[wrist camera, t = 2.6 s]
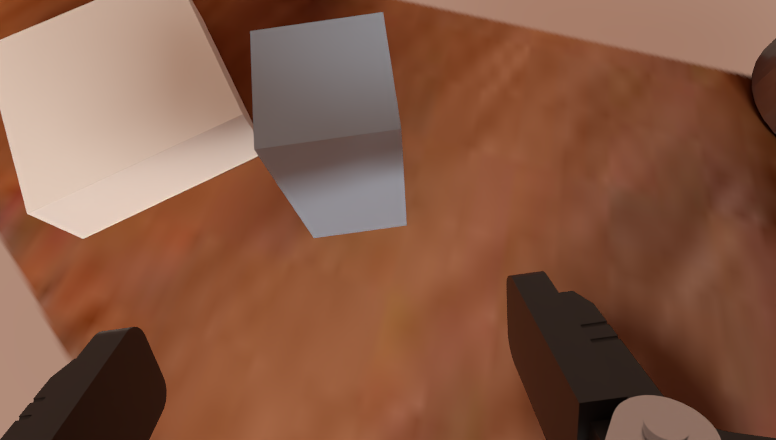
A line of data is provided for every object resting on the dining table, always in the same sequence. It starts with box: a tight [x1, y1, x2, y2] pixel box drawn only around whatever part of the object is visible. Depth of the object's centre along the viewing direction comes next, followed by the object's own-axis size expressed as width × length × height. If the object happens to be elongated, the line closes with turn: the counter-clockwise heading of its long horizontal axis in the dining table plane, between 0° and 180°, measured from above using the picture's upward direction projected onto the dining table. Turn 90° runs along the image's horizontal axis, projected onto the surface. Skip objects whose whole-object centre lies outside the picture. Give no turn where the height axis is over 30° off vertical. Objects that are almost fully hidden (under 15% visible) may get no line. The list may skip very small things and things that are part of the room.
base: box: [0, 0, 258, 239], centre depth 27 cm, size 11×11×4 cm
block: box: [250, 12, 407, 238], centre depth 22 cm, size 5×5×10 cm
